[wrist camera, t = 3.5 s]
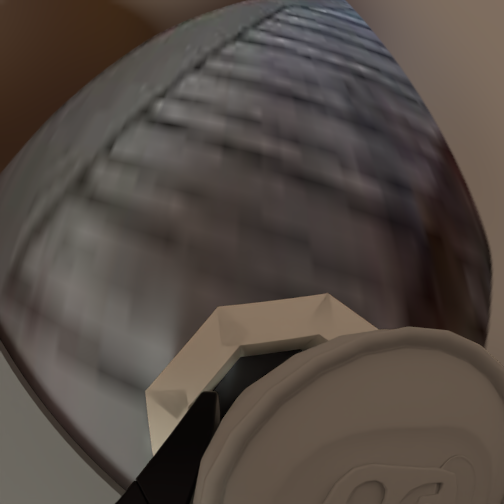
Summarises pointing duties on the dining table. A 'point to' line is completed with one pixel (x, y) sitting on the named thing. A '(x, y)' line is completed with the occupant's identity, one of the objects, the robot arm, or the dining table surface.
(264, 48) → the dining table surface
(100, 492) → the rubber mat
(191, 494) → the robot arm
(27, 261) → the dining table surface
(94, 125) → the dining table surface
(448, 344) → the beverage can
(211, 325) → the holder ring
